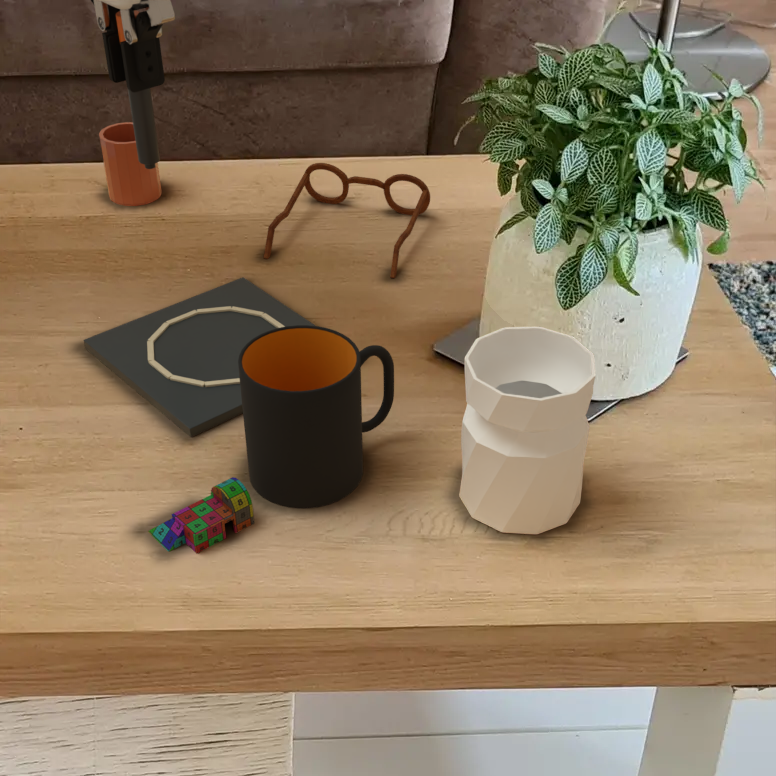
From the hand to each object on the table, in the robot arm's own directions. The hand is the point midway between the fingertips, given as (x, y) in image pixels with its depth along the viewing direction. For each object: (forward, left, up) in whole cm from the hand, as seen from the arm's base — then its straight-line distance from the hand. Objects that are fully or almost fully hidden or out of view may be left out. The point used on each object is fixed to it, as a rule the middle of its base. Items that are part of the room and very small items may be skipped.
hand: (137, 81), depth 95 cm
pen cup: (+7, +16, -19) cm, 26 cm away
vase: (+3, -43, -19) cm, 47 cm away
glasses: (+18, -5, -19) cm, 26 cm away
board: (-3, -14, -19) cm, 23 cm away
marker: (0, 0, -8) cm, 8 cm away
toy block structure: (-16, -31, -19) cm, 40 cm away
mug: (-5, -31, -19) cm, 36 cm away
